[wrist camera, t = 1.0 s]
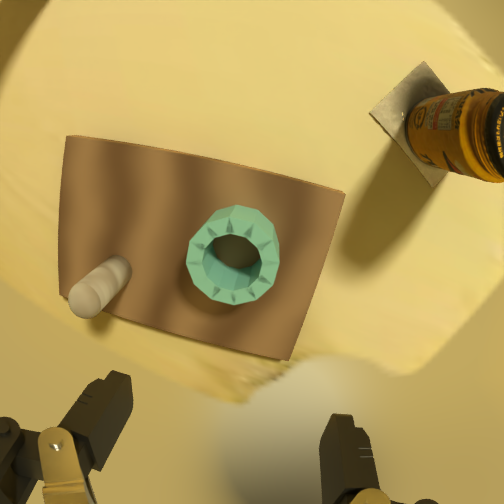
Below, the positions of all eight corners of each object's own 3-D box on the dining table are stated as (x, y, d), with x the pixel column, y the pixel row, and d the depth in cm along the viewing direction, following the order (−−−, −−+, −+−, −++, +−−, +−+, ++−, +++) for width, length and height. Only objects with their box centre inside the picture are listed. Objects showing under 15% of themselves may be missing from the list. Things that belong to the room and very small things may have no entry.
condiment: (432, 187, 24) (517, 225, 13) (369, 112, 23) (437, 95, 12) (479, 136, 22) (572, 147, 11) (422, 61, 21) (504, 26, 9)
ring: (194, 270, 27) (181, 291, 23) (208, 197, 25) (195, 208, 21) (266, 288, 27) (265, 312, 23) (286, 217, 25) (288, 231, 21)
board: (66, 288, 30) (17, 331, 22) (75, 135, 25) (9, 141, 17) (288, 351, 31) (289, 418, 22) (341, 191, 25) (372, 217, 17)
